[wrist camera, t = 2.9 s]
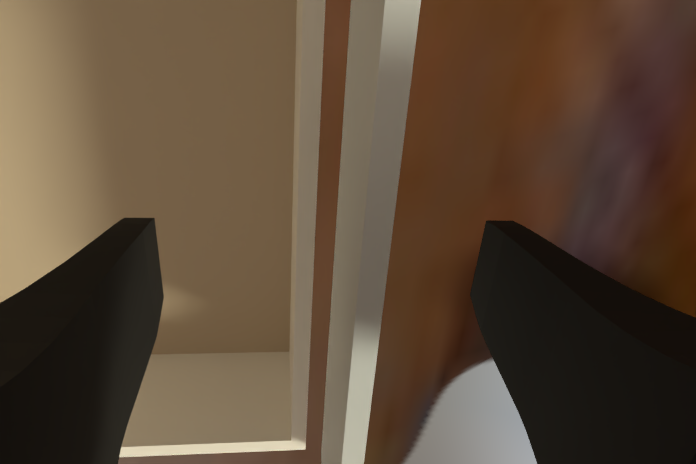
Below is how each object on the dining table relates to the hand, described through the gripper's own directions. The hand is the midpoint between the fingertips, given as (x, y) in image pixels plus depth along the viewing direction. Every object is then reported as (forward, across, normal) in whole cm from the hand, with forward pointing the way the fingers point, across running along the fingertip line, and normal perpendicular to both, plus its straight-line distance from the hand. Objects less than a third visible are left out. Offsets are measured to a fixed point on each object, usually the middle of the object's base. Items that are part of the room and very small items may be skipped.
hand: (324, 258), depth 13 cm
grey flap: (0, 0, 0) cm, 1 cm away
